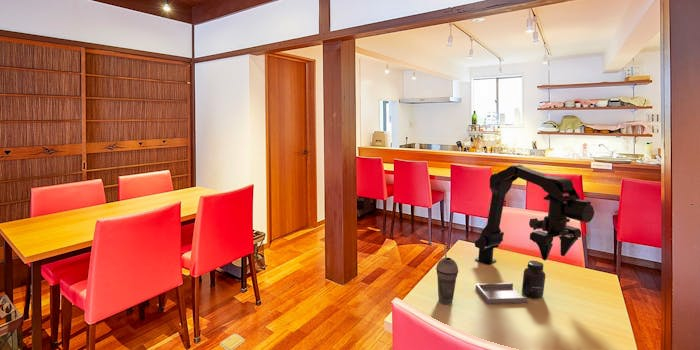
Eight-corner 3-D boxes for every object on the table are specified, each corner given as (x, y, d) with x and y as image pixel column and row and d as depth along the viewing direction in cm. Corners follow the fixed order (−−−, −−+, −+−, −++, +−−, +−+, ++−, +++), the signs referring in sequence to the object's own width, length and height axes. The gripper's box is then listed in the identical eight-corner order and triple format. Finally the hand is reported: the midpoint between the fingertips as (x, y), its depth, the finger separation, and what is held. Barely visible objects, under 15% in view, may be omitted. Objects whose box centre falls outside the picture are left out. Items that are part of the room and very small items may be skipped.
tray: (511, 287, 130) (512, 282, 129) (527, 303, 120) (528, 297, 119) (475, 289, 129) (476, 283, 129) (488, 304, 119) (488, 298, 118)
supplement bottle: (534, 301, 120) (538, 268, 118) (517, 292, 126) (520, 261, 124) (547, 297, 123) (551, 264, 121) (529, 288, 129) (532, 257, 127)
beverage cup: (453, 309, 116) (456, 251, 112) (431, 303, 120) (434, 247, 116) (459, 299, 122) (462, 244, 118) (438, 293, 126) (440, 240, 122)
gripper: (554, 206, 132) (550, 246, 134) (518, 212, 124) (515, 254, 127) (584, 213, 122) (579, 256, 124) (546, 220, 114) (542, 265, 117)
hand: (553, 257), depth 123 cm, fingers open, 9 cm apart
